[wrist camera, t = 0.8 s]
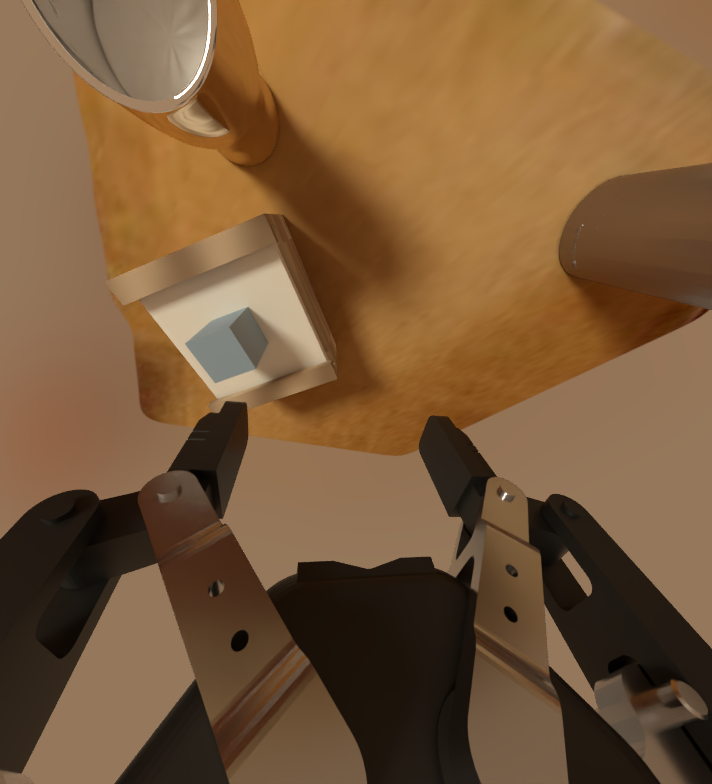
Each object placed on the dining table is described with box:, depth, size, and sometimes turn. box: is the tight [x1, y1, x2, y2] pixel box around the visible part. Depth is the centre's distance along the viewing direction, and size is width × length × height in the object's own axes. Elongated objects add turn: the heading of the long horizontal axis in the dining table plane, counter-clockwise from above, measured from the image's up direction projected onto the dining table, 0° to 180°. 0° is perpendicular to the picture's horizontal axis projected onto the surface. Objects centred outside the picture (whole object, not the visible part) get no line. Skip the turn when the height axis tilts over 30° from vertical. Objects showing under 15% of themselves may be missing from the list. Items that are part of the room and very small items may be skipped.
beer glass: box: [21, 0, 279, 166], centre depth 15 cm, size 7×7×15 cm
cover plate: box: [139, 243, 329, 399], centre depth 22 cm, size 12×12×6 cm
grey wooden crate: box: [104, 214, 338, 413], centre depth 26 cm, size 13×14×8 cm
